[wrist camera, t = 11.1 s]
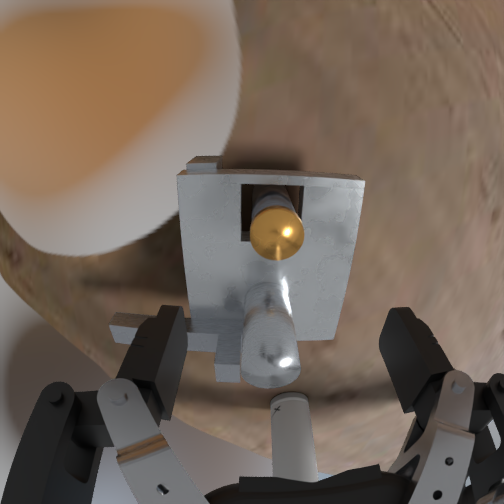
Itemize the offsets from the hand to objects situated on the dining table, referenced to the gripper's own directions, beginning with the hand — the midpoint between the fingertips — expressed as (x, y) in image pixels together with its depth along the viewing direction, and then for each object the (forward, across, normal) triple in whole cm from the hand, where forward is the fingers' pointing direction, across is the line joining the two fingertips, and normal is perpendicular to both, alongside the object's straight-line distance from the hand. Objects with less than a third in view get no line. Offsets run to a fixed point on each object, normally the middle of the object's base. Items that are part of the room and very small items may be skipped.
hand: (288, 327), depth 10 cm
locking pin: (+18, 0, 0) cm, 18 cm away
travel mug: (+19, -5, +34) cm, 39 cm away
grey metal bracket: (+18, +4, +5) cm, 19 cm away
